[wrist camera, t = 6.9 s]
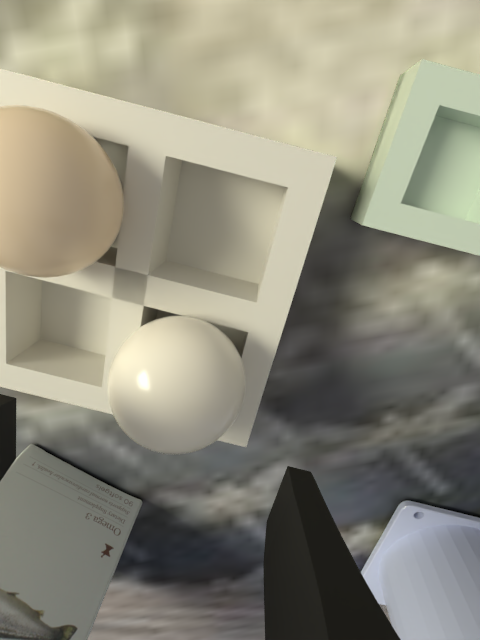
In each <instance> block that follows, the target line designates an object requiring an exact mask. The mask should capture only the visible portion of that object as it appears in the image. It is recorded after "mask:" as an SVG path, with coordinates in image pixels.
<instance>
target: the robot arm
mask: <svg viewBox="0 0 480 640" xmlns="http://www.w3.org/2000/svg"><path fill="white" fill-rule="evenodd" d="M15 459H16V398H13V397H9V396H5V395H1V394H0V481H1V480H2V478H3V477H4V475H5V474H6V472H7V471H8V469H9V468H10V467H11V465H12V464H13V462H14V461H15ZM416 512H417V513H416ZM379 604H382V605H386V606H387V610H388V614H389V617H390V621H391V624H390V622H389V620H388V619H387V617H386V615H385V614H384V612H383V610H382V609H381V607H380V605H379ZM264 605H265V640H480V518H478V517H474V516H470V515H466V514H462V513H458V512H454V511H450V510H446V509H442V508H438V507H434V506H429V505H425V504H421V503H417V502H413V501H403V502H401V503H400V504H399V505H398V507H397V509H396V511H395V512H394V514H393V516H392V518H391V519H390V521H389V523H388V525H387V527H386V528H385V530H384V532H383V534H382V535H381V537H380V539H379V541H378V543H377V544H376V546H375V548H374V550H373V551H372V553H371V555H370V557H369V559H368V560H367V562H366V564H365V566H364V567H363V569H362V571H361V572H360V570H359V569H358V567H357V565H356V563H355V561H354V559H353V557H352V555H351V553H350V552H349V550H348V548H347V546H346V544H345V542H344V540H343V538H342V536H341V534H340V532H339V530H338V528H337V526H336V524H335V522H334V520H333V518H332V516H331V514H330V512H329V510H328V507H327V505H326V503H325V501H324V499H323V497H322V495H321V492H320V490H319V488H318V486H317V484H316V481H315V479H314V477H313V475H312V473H311V472H309V471H305V470H301V469H297V468H293V467H289V466H288V467H287V469H286V472H285V475H284V477H283V480H282V483H281V485H280V488H279V491H278V493H277V496H276V499H275V501H274V504H273V506H272V509H271V512H270V514H269V517H268V520H267V527H266V539H265V552H264Z"/></svg>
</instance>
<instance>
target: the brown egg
mask: <svg viewBox="0 0 480 640" xmlns="http://www.w3.org/2000/svg"><path fill="white" fill-rule="evenodd" d="M123 212H124V198H123V191H122V186H121V182H120V179H119V176H118V173H117V171H116V169H115V167H114V165H113V163H112V161H111V160H110V158H109V156H108V155H107V153H106V152H105V150H104V149H103V148H102V146H101V145H100V144H99V143H98V142H97V141H96V140H95V139H94V138H93V137H92V136H91V135H90V134H89V133H88V132H86V131H85V130H84V129H83V128H81V127H80V126H79V125H77V124H76V123H74V122H73V121H71V120H69V119H67V118H65V117H63V116H61V115H59V114H57V113H54V112H52V111H49V110H46V109H43V108H37V107H32V106H26V105H7V106H0V268H3V269H5V270H8V271H11V272H14V273H17V274H20V275H26V276H32V277H44V278H47V277H58V276H64V275H69V274H72V273H75V272H77V271H80V270H83V269H85V268H86V267H88V266H90V265H92V264H93V263H95V262H96V261H97V260H98V259H100V258H101V257H102V256H103V255H104V254H105V253H106V252H107V251H108V249H109V248H110V247H111V245H112V244H113V242H114V241H115V239H116V237H117V235H118V233H119V230H120V227H121V223H122V218H123Z"/></svg>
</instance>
